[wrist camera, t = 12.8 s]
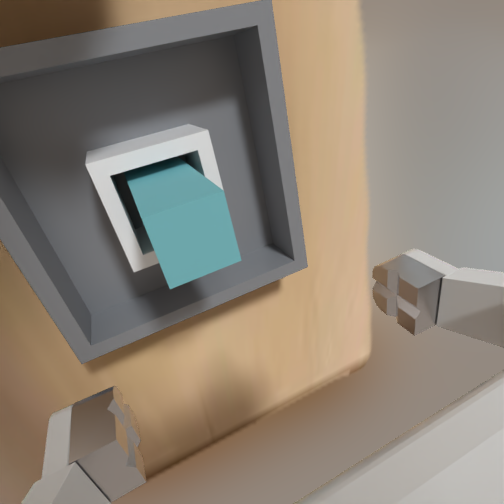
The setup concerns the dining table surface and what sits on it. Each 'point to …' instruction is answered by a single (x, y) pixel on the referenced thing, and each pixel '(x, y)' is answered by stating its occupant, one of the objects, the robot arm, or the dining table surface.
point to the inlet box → (140, 154)
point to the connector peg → (184, 219)
